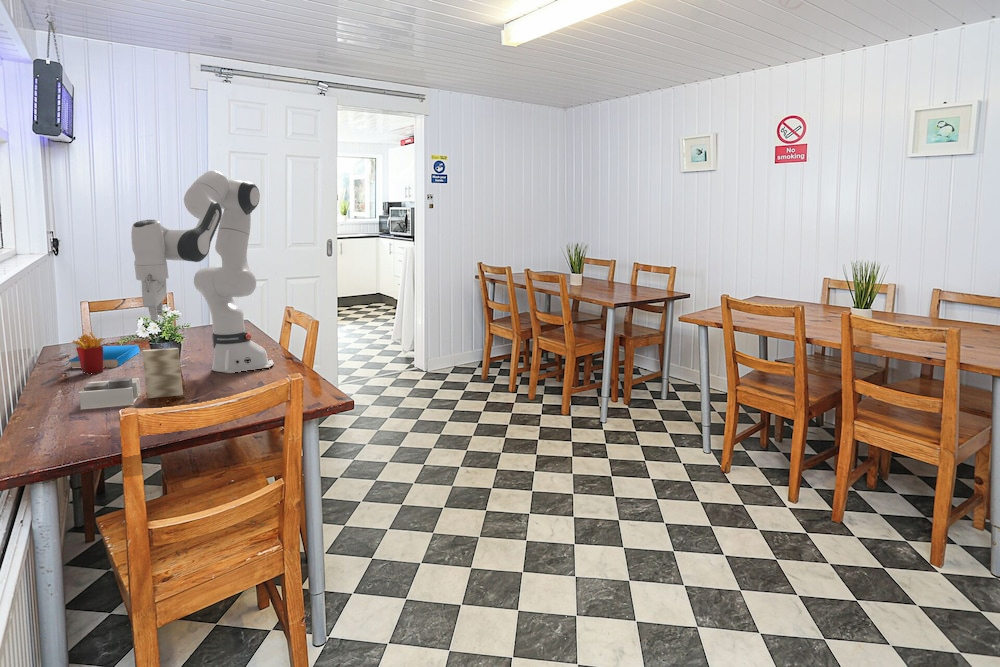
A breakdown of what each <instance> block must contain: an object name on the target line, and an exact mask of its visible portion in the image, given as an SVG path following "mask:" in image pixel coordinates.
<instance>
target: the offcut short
mask: <svg viewBox="0 0 1000 667" xmlns="http://www.w3.org/2000/svg"><path fill="white" fill-rule="evenodd" d="M106 389H109V387H108V382H104V383H91V384H88V383H86V384H85V386H83V391H94V390H106Z"/></svg>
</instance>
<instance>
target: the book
mask: <svg viewBox="0 0 1000 667" xmlns="http://www.w3.org/2000/svg"><path fill="white" fill-rule="evenodd" d="M102 346H103V367H106V368H117V367H120V366H121V365H123V364H124V363H126V362H127V361H129V360H130V359H131V357H132V358H134V357H135V356H136V355H138V354H139V353H140V350H141V349H140V347H139V345H138V344H127V345H126V344H125V345H123V344H122V345H102ZM137 353H138V354H137ZM134 355H135V356H134ZM128 359H129V360H128ZM125 361H126V362H125ZM68 362H70V368H71V367H81V364H80V360H79V356H78V355H77V356H74V357H72V358H71V359H69V361H68ZM122 363H123V364H122ZM119 365H120V366H119Z"/></svg>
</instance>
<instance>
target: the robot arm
mask: <svg viewBox="0 0 1000 667" xmlns="http://www.w3.org/2000/svg"><path fill="white" fill-rule="evenodd" d="M260 197H261V195H260V190H259V188H258V187H257V185H256V184H255V183H253V182H250V181H247V180H243V181H242V180H238V179H233V178H227V176H225V175H224V173H221V172H220V171H217V170H208V171H206V172H204V173H203V174H202V175H200V176H199V177H198V178H197V179H196V180H195V181H194V182H193V183H192V184H191V185H190V187H189V188H188V189H187V190H186V192H185V193H184V197H183V203H184V206H185V208H186V210H187V211H188V212H189V213H190V214H191V215H192V216H193V217H195V218H196V219H199V220H198V221H197V224H196V226H195V227H194V228H192V229H185V230H184V229H182V230H181V229H169V228H167V227H165V226H164V225H162V224H161V222H160V221H159V220H157V219H146V220H144V219H143V220H139V221H137V222H134V223H133V224H132V227H131V236H130V237H131V238H130V239H131V246H132V247H131V248H132V252H133V254H134V270H135V280H136V281H140V282H141V296H142V304H143V308H148V312H149V315H150V320H151V321H157V320H158V319H159V316H162V315H163V314H164V311H163V306H164V304H163V303H164V300H165V299H166V298H167V279H169V270H168V263H167V261H186V262H194V263H199V262H201V261H203V260H204V259H206V257H208V254H209V252H210V249H211V243H212V240H213V237H214V236H215V233H216V231H217V234H216V235H217V236H216V240H215V244H214V250H215V251H216V253H217V254H218V255H219V256H220V258H221V266H209V267H203V268H200V269H198V270H197V271H196V272H195V274H194V276H193V285H194V287H195V289H196V290H197V291H198V292H199V293H200V294H201V295H202V296H203V297H204V300H205V302H206V304H207V307H208V308H209V311H210V316H211V321H212V322H211V323H212V336H211V339H212V340H211V341H212V346H213V348H214V349H213V361H212V367H211V370H212V371H214V372H220V373H224V374H236V373H235V372H238V373H242V372H241V371H246V372H248V371H247V370H254V369H259V368H266V367H270V366H272V365H273V364H274V365H275V362H273V361H274V360H273V359H271V360H269V361H268V359H269V358H268V353H267V351H266V349H265V347H263V346H261V345H259V344H258V343H256V342H254V341H253V340H251V338H252V334H251V333H250V331H246V330H245V322H244V320H245V319H244V312H243V309H242V308H241V307H239V306H238V304H236V302H235V301H234V299H233V298H242V297H249V296H250V295H253V293H254V291H255V290H256V288H257V279H256V276H255V275H254V273H253V272H252V271H251V269H250V267H249V264H248V258H247V256H248V254H247V253H248V245H249V241H250V240H249V239H250V232H251V224H252V223H251V222H252V221H251V220H252V219H251V213H252V212H253V211H254V210H255V209H257V207H258V204H259V203H260ZM222 209H223V210H222ZM254 371H255V370H254Z"/></svg>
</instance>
